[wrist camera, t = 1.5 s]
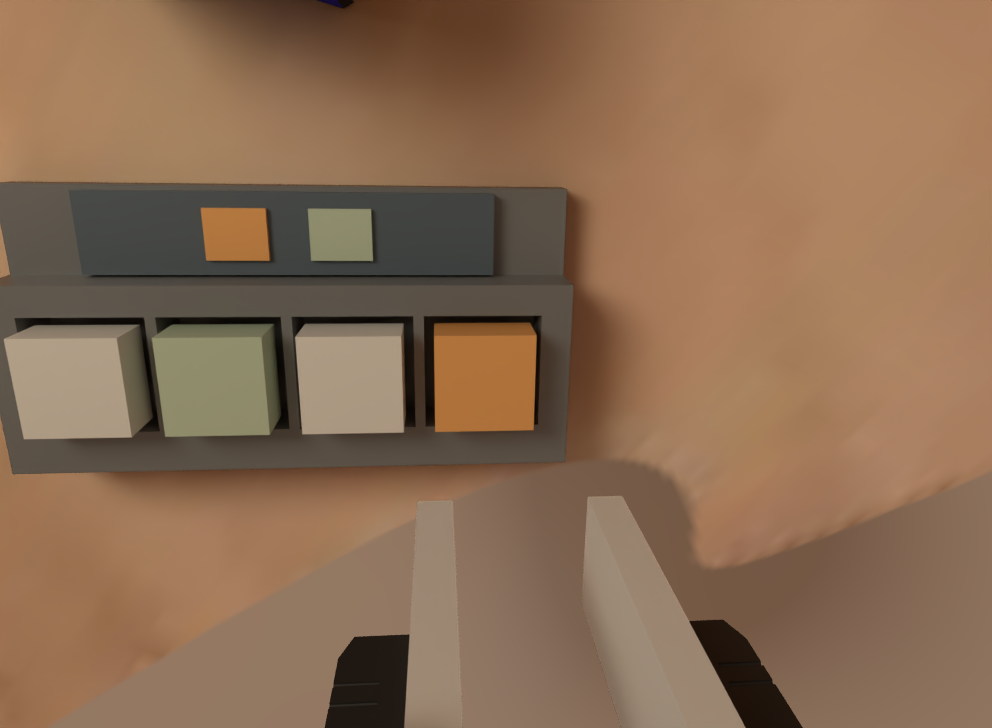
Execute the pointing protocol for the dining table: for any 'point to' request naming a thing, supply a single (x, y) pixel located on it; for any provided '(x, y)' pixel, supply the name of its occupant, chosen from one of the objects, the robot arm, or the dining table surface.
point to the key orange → (484, 376)
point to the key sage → (217, 379)
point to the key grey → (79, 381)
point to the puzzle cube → (338, 2)
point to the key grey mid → (351, 378)
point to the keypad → (289, 301)
